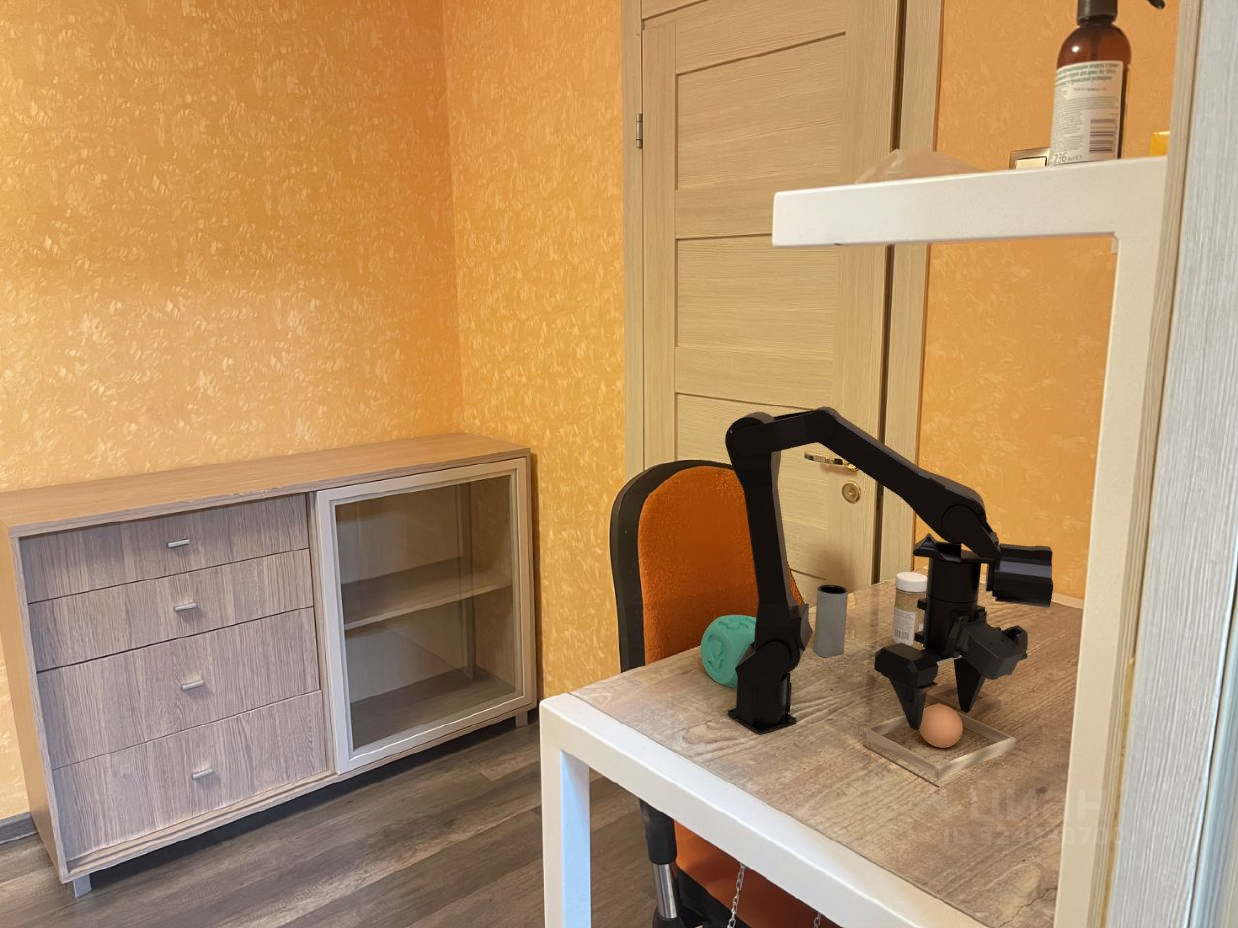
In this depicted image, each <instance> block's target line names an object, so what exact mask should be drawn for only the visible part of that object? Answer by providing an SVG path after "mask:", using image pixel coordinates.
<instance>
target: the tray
mask: <svg viewBox="0 0 1238 928" xmlns="http://www.w3.org/2000/svg"><path fill="white" fill-rule="evenodd" d="M938 704H941V703H938ZM942 705H943V704H942ZM927 707H928V706H927ZM927 707H924V710H925V709H926V708H927ZM953 710H954V709H953ZM954 711H956V710H954ZM956 712H957V714H958V715H959V717H960V719H961V721H962V725H963V728H966V729H967V730H970V731H972V732H974V733H976V734H978V735H980V736H982V737H985V738H986V739H989V740H991V741H992V742H995V743H993V744H990V745H988V746H985V747H983V748H980V749H978V750H975V751H972V752H970V753H968V754H967V753H966V754H965V755H962V756H960V757H957V758H954V759H953V760H949V761H947V762H944V763H941V764H939V765H938V764H936V763H935V762H933V761H931V760H929V759H927V758H925V757H923V756H921V755H919V754H918V753H916V752H914V751H912V750H910V749H908V748H906V747H904V746H903V745H901V744H899V743H897V742H895V741H893V740H891V739H889V738H887V737H885V736H883V735H886V734H889V733H892V732H895V731H899V730H901V729H905V728H907V727H910V726H909V723H908V721H907V718H906V716H905V714H903V715H899V716H896V717H894V718H891V719H887V720H885V721H882V722H879V723H876V724H873V725H869V726H867V727H864V728H863V734H862V739H863V740H864V741H866V742H868V743H870V744H871V745H873V746H876V747H877V748H879V749H881V750H883V751H885V752H887V753H888V754H890V755H892V756H894V757H896V758H898V759H899V760H902V761H903V762H905V763H907V764H908V765H911V766H912V767H914V768H916V769H917V770H919V771H921V772H923V773H925V774H926V775H929V776H930V777H932V778H934V779H936V780H937V781H940V780H942V779H945V778H947V777H949V776H952V775H954V774H956V773H960V772H962V771H964V770H967V769H970V768H972V767H974V766H977V765H980V764H982V763H984V762H987V761H988V760H992V759H994V758H996V757H999V756H1001V755H1004V754H1007V753H1009V752H1012V751H1014V750H1016V747H1017V740H1018V739H1017V738H1016V737H1014V736H1012V735H1011V734H1008V733H1006V732H1003V731H1001V730H999V729H997V728H995V727H992V726H990V725H988V724H986V723H984V722H982V721H980V720H978V719H976V718H973V717H972V718H971V717H969V716H967V715H964V714H962V713H960V712H958V711H956ZM862 747H863V748H865V749H867V750H869V751H871V752H873V753H874V754H876V755H878V756H880V757H882V758H883V759H885V760H887V761H889V762H891V763H892V764H895V765H896V766H898V767H899V768H902V769H903V770H905V771H907V772H909V773H910V774H913V775H914V776H915V777H917V778H919V779H921V780H923V781H925V782H926V783H928V784H930V785H931V786H934V787H935V788H937V789H938V788H940V787H941V786H939V784H937V783H934V782H933V781H931V780H929V779H927V778H925V777H923V776H922V775H920V774H918V773H916V772H915V771H912V769H911V770H910V769H909V768H908V767H905V766H903V765H902V764H901V763H898V762H896V761H895V760H894V759H892V758H889V757H887V756H885V755H884V754H882V753H880V752H878V751H877V750H875V749H873V748H871V747H870V746H867V745H865V744H864V743H862Z"/></svg>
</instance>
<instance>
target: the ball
mask: <svg viewBox="0 0 1238 928" xmlns="http://www.w3.org/2000/svg"><path fill="white" fill-rule="evenodd" d="M925 708H926V707H925ZM963 728H964V727H963V725H962V721H961V719H960V717H959V715H958V714H957V712H956V711H954V710H953V709H952V708H950V707H948V706H946V705H942V704H935V705H934V704H931V705H929V706H927V708H926V709H925V710H924V711H923V717H922V722H921V726H920V729H919V730H918V731H919V733H920V735H921V738H923V740H924V741H925V742H927V744H929V745H931V746H933V747H936V748H941V749H942V748H943V749H945V748H950V747H952V746H953V745H956V744H957V743H958V741H959V740H961V737H962V734H963Z"/></svg>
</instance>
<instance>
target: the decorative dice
mask: <svg viewBox="0 0 1238 928" xmlns="http://www.w3.org/2000/svg"><path fill="white" fill-rule="evenodd" d="M755 624H756V616H755V617H754V616H749V615H743V614H742V615H741V614H729V615H723V616H719V617H716V618H715V619H714V620H713V621H712V622H711V623H710V624H709V625H708V627H706V629H705V631H704V633H703V636H702V637H701V641H700V657H701V661H702V664H703V667H704V669H705V671H706V673H707V675H709V676H710V678H711V679H712V680H714V682H716V683H717V684H719V685H722V686H724V685H725V687H729V688H733V687H734V688H735V689H737V678H738V677H737V674H736V671H735V668H736V666H737V664H738V663H739V661H740V660H741V658H742V656H743V655H744V653H745V651H746V650H747V648H748V647H749V645H750V644H751V643H752V642H753V641H754V637H755ZM734 688H733V689H734Z"/></svg>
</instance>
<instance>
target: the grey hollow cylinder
mask: <svg viewBox="0 0 1238 928" xmlns="http://www.w3.org/2000/svg"><path fill="white" fill-rule="evenodd" d="M816 589H817V591H816V606H815V621H814V636H813V637H814V639H813V653H814V652H815V653H816V654H817V656H818V655H819V657H821V656H822V657H821V658H824V657H825V658H826V659H828V658H833V657H836V656H840V655H844V653H845V641H846V627H847V626H846V624H847V610H848V598H849V597H848V595H849V590H848V589H847V588H846V587H844V586H842V585H838V584H837V585H836V584H822V585H819V586H818V587H817V588H816ZM815 653H814V654H815ZM816 654H815V655H816Z"/></svg>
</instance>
